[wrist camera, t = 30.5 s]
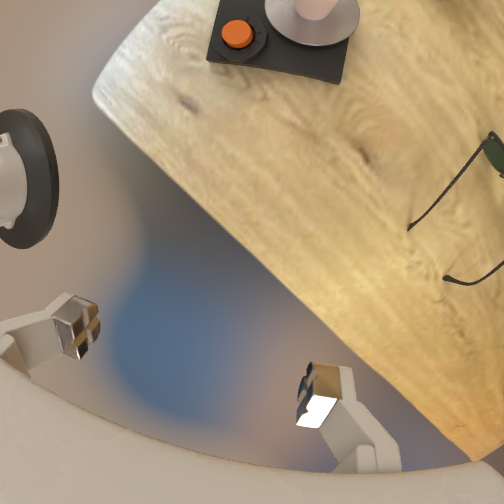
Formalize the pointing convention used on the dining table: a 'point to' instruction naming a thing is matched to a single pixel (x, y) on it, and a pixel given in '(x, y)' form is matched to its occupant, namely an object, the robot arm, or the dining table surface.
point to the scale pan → (313, 23)
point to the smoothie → (314, 8)
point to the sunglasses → (496, 153)
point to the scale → (272, 46)
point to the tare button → (237, 34)
